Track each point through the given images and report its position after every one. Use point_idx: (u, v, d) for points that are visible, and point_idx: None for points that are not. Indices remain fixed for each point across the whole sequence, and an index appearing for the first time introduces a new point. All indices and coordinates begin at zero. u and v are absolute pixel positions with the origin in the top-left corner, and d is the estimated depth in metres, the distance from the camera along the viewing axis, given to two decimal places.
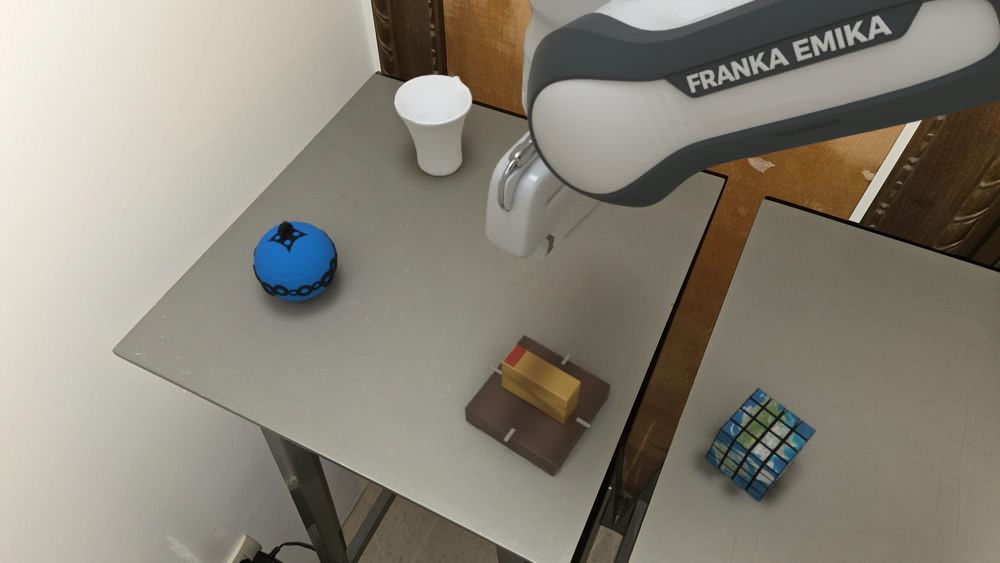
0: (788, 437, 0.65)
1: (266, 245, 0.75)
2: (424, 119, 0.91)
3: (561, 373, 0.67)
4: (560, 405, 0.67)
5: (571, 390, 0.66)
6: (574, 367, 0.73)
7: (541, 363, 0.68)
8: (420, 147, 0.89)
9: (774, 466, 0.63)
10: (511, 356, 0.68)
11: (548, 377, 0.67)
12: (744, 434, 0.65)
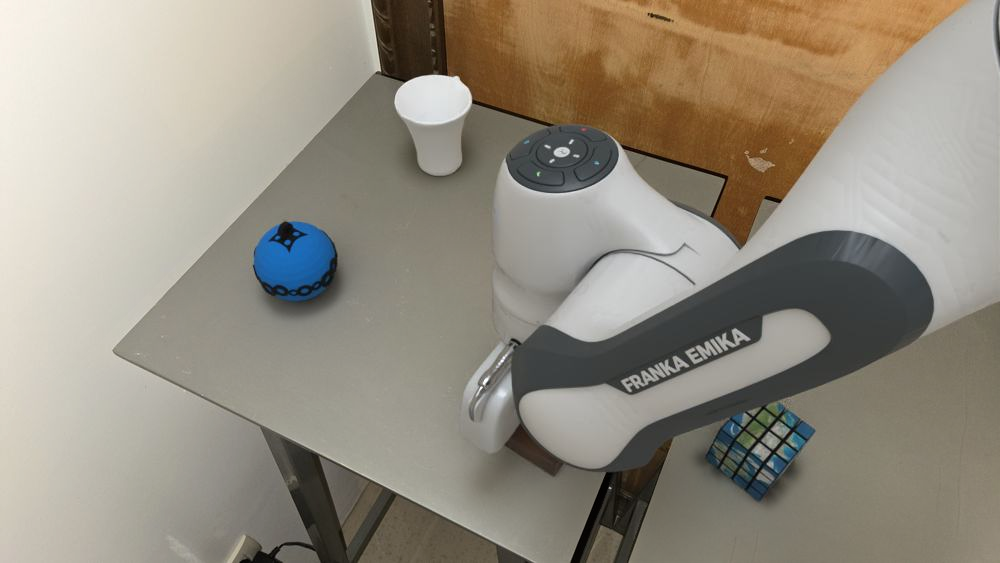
0: (788, 437, 0.65)
1: (266, 245, 0.75)
2: (424, 119, 0.91)
3: None
4: None
5: None
6: None
7: None
8: (420, 147, 0.89)
9: (774, 466, 0.63)
10: None
11: None
12: (744, 434, 0.65)
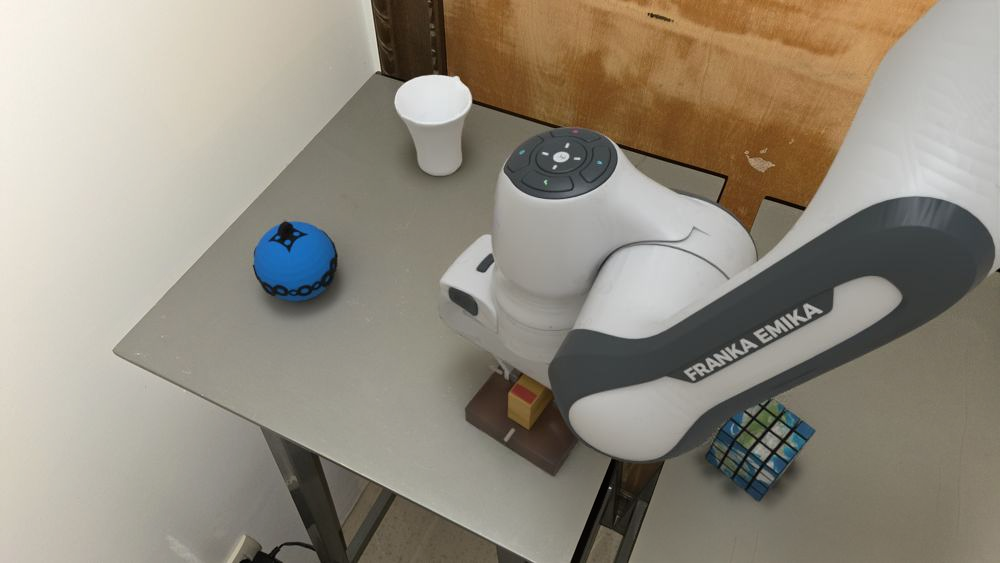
0: (788, 437, 0.65)
1: (266, 245, 0.75)
2: (424, 119, 0.91)
3: None
4: None
5: None
6: None
7: None
8: (420, 147, 0.89)
9: (774, 466, 0.63)
10: (525, 396, 0.66)
11: None
12: (744, 434, 0.65)
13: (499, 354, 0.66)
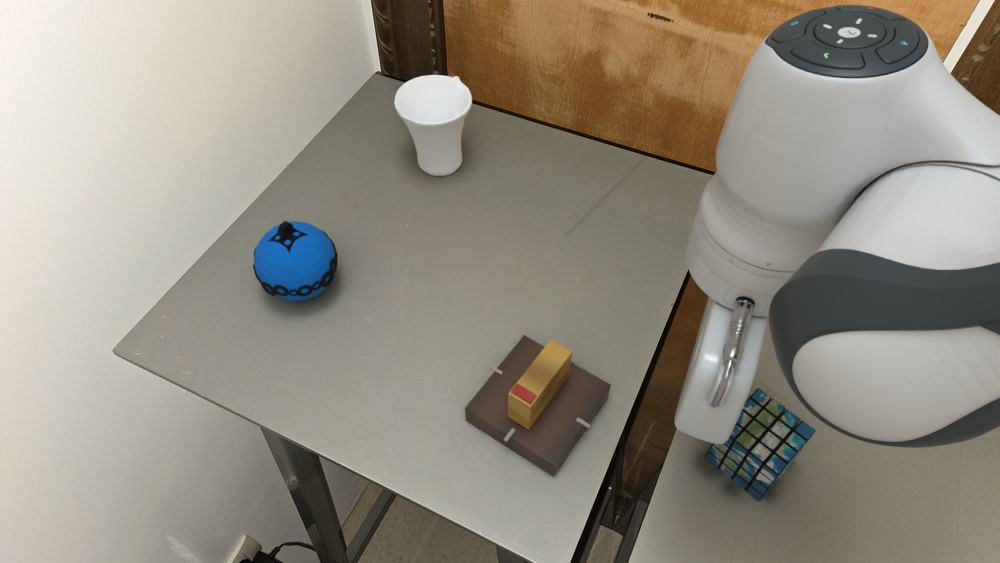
0: (788, 437, 0.65)
1: (266, 245, 0.75)
2: (424, 119, 0.91)
3: (542, 354, 0.69)
4: (568, 364, 0.70)
5: (560, 347, 0.69)
6: (574, 367, 0.73)
7: (531, 371, 0.68)
8: (420, 147, 0.89)
9: (774, 466, 0.63)
10: (525, 396, 0.66)
11: (547, 365, 0.68)
12: (744, 434, 0.65)
13: None
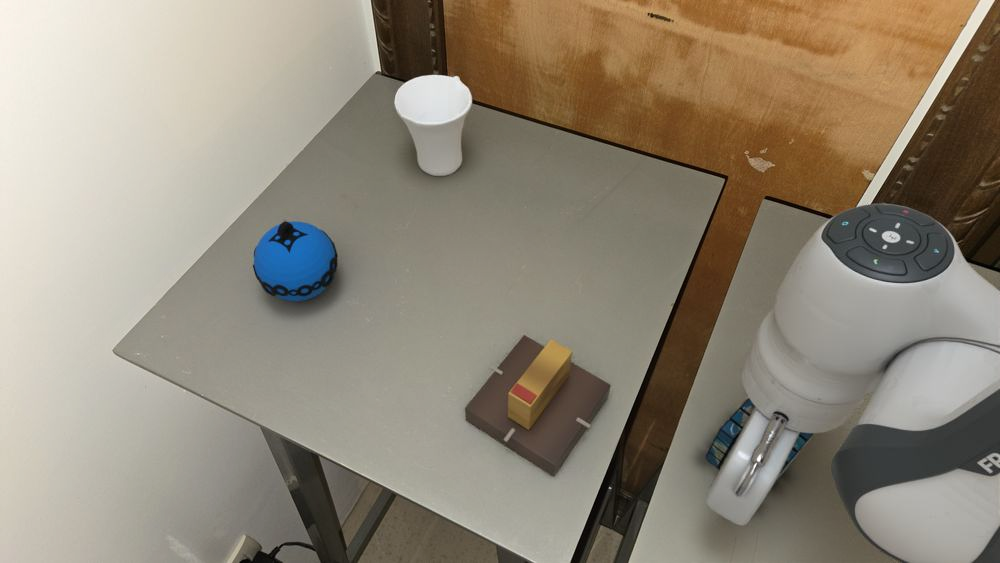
0: None
1: (266, 245, 0.75)
2: (424, 119, 0.91)
3: (542, 354, 0.69)
4: (568, 364, 0.70)
5: (560, 347, 0.69)
6: (574, 367, 0.73)
7: (531, 371, 0.68)
8: (420, 147, 0.89)
9: None
10: (525, 396, 0.66)
11: (547, 365, 0.68)
12: None
13: None
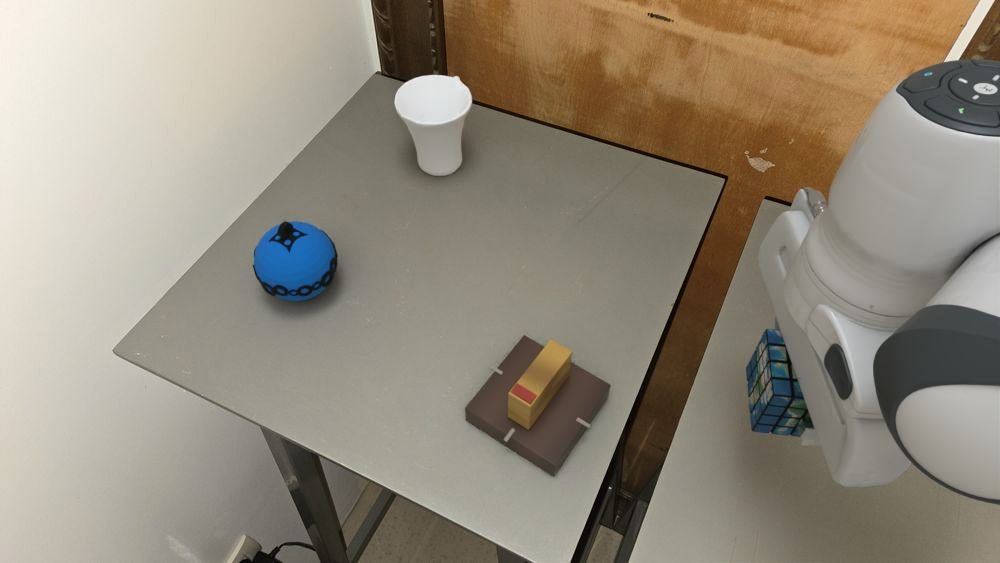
0: (788, 369, 0.56)
1: (266, 245, 0.75)
2: (424, 119, 0.91)
3: (542, 354, 0.69)
4: (568, 364, 0.70)
5: (560, 347, 0.69)
6: (574, 367, 0.73)
7: (531, 371, 0.68)
8: (420, 147, 0.89)
9: (775, 333, 0.58)
10: (525, 396, 0.66)
11: (547, 365, 0.68)
12: None
13: None
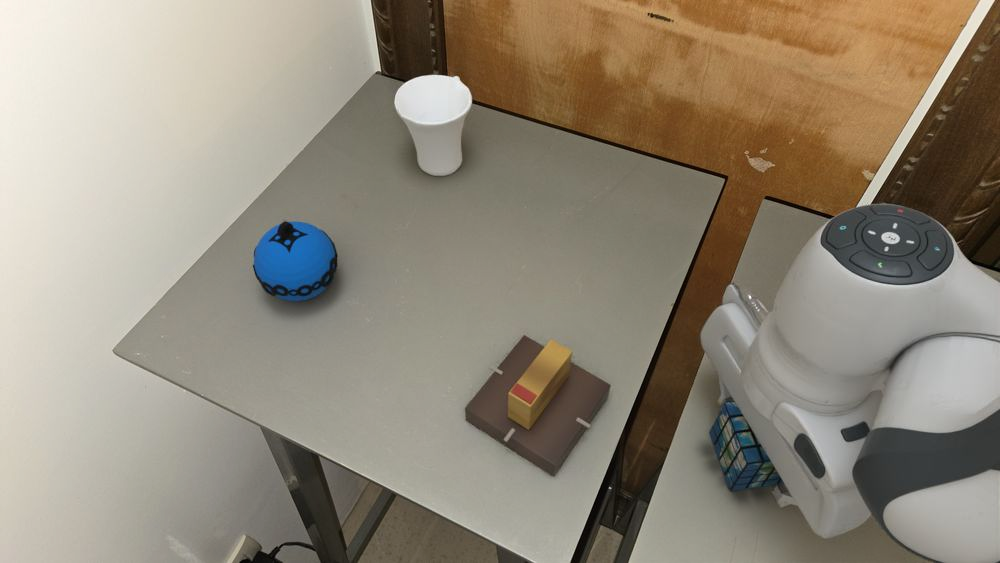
0: (752, 436, 0.65)
1: (266, 245, 0.75)
2: (424, 119, 0.91)
3: (542, 354, 0.69)
4: (568, 364, 0.70)
5: (560, 347, 0.69)
6: (574, 367, 0.73)
7: (531, 371, 0.68)
8: (420, 147, 0.89)
9: (732, 405, 0.67)
10: (525, 396, 0.66)
11: (547, 365, 0.68)
12: None
13: None
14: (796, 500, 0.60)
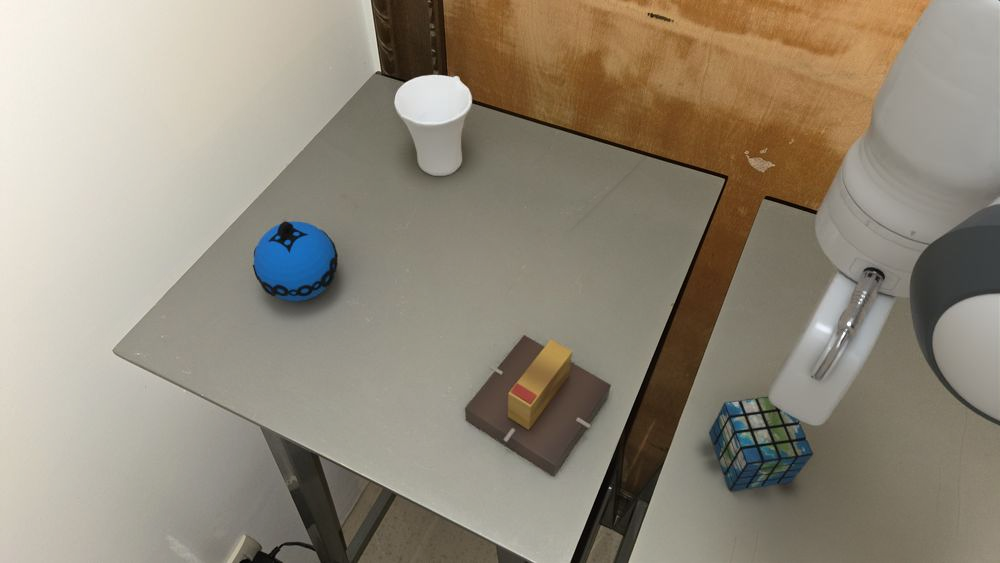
0: (752, 436, 0.65)
1: (266, 245, 0.75)
2: (424, 119, 0.91)
3: (542, 354, 0.69)
4: (568, 364, 0.70)
5: (560, 347, 0.69)
6: (574, 367, 0.73)
7: (531, 371, 0.68)
8: (420, 147, 0.89)
9: (732, 405, 0.67)
10: (525, 396, 0.66)
11: (547, 365, 0.68)
12: (772, 406, 0.67)
13: None
14: None
